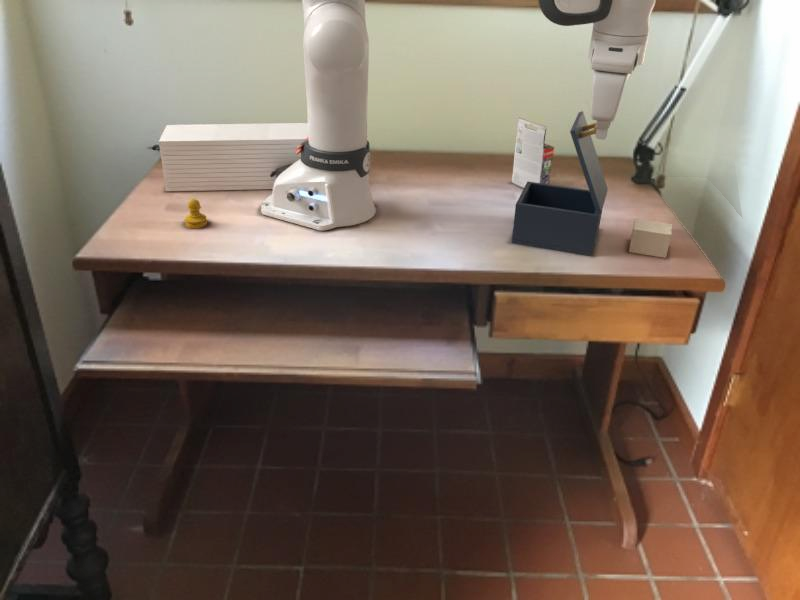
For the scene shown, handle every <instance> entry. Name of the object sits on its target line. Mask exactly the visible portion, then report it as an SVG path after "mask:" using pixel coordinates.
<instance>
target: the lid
mask: <svg viewBox="0 0 800 600" xmlns="http://www.w3.org/2000/svg"><path fill="white" fill-rule="evenodd" d="M586 119H587V118H586V116H585V113H584V111H583V110H582V111H578V113H577V115H576V117H575V119H574V122H573V124H572V126H571V128H570V130H569V133H570V136H571V139H572V142H573V145H574V148H575V152H576V154H577V158H578V160H579V163H580V166H581V169H582V172H583V173H582V174H583V176H584V179H585V182H586V185H587V188H588V190H589V191H590V194H591V197H592V200H593V203H594V206H595V209H596V213H597V214H600V213H602V214H603V209H604V206H605V201H606V197H607V194H608V191H609V189H608V186H607V182H606V179H605V176H604V172H603V169H602V167H601V163H600V159H599V158H598V153H597V151H596V148H595V147H596V146H595V144H594V141H593V138H592V136H593V135H595V136H596V129H597V121H596V122H593V123H591V124H588V123H587V120H586Z"/></svg>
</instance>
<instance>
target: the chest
mask: <svg viewBox="0 0 800 600" xmlns="http://www.w3.org/2000/svg"><path fill="white" fill-rule="evenodd" d="M522 189H523V190H522V191H521V193H520V195H519V197H518V199H517V201H516V203H515V207H514V217H513V226H512V234H511V235H512V236H511V244H516V245H521V246H528V247H534V248H539V249H547V250H554V251H559V252H565V253H571V254H576V255H583V256H590V257H592V256H593V255H594V250H595V246H596V243H597V239H598V235H599V231H600V226H601V221H602V215H603V212H602V213H600V214H597V213H596V209H595V206H594V203H593V200H592V197H591V194H590V191H589V189H586V188H585V189H584V188H578V187H570V186H564V185H556V184H551V183H550V184H543V183H536V182H527V184H526V185H525V187H524V188H522Z"/></svg>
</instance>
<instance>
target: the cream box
mask: <svg viewBox="0 0 800 600" xmlns="http://www.w3.org/2000/svg"><path fill="white" fill-rule="evenodd" d="M672 229H673V224H672V223H667V222H659V221H653V220H647V219H646V220H645V219H639V218H635V219H634V221H633V227H632V232H631V237H630V240H629V241H630V242H629V248H628V253H632V254H639V255H645V256H652V257H657V258H662V259H663V258H664V259H667V256H668V251H669V247H670V244H671V243H670V242H671V239H672Z"/></svg>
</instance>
